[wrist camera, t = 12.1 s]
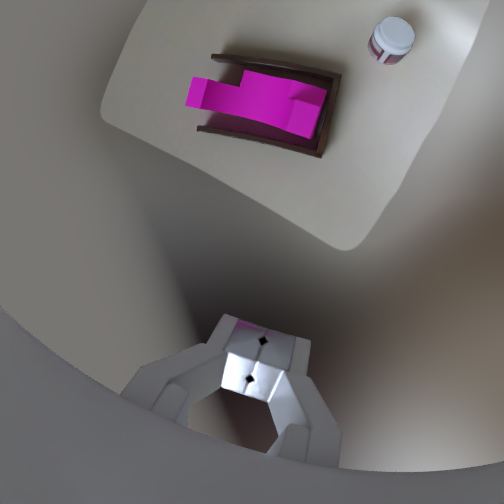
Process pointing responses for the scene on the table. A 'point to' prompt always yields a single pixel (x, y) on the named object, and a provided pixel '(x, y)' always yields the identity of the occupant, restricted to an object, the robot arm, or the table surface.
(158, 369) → the robot arm
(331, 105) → the bay
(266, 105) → the toy block
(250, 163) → the table surface
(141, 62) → the table surface
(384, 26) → the pill bottle
